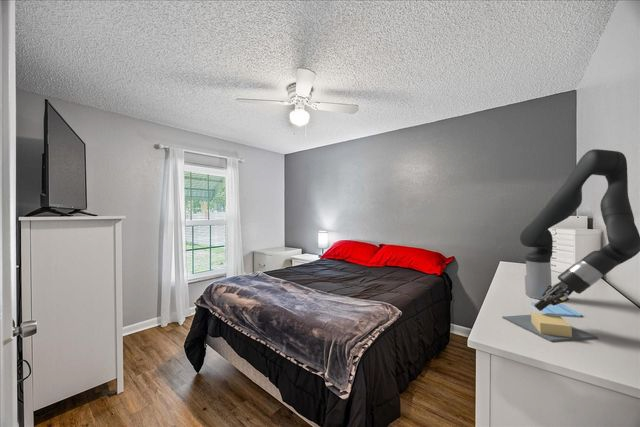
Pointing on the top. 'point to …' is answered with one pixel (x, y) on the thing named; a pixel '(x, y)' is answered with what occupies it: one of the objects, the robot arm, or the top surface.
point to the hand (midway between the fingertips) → (536, 308)
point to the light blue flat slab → (560, 310)
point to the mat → (526, 323)
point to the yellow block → (551, 324)
